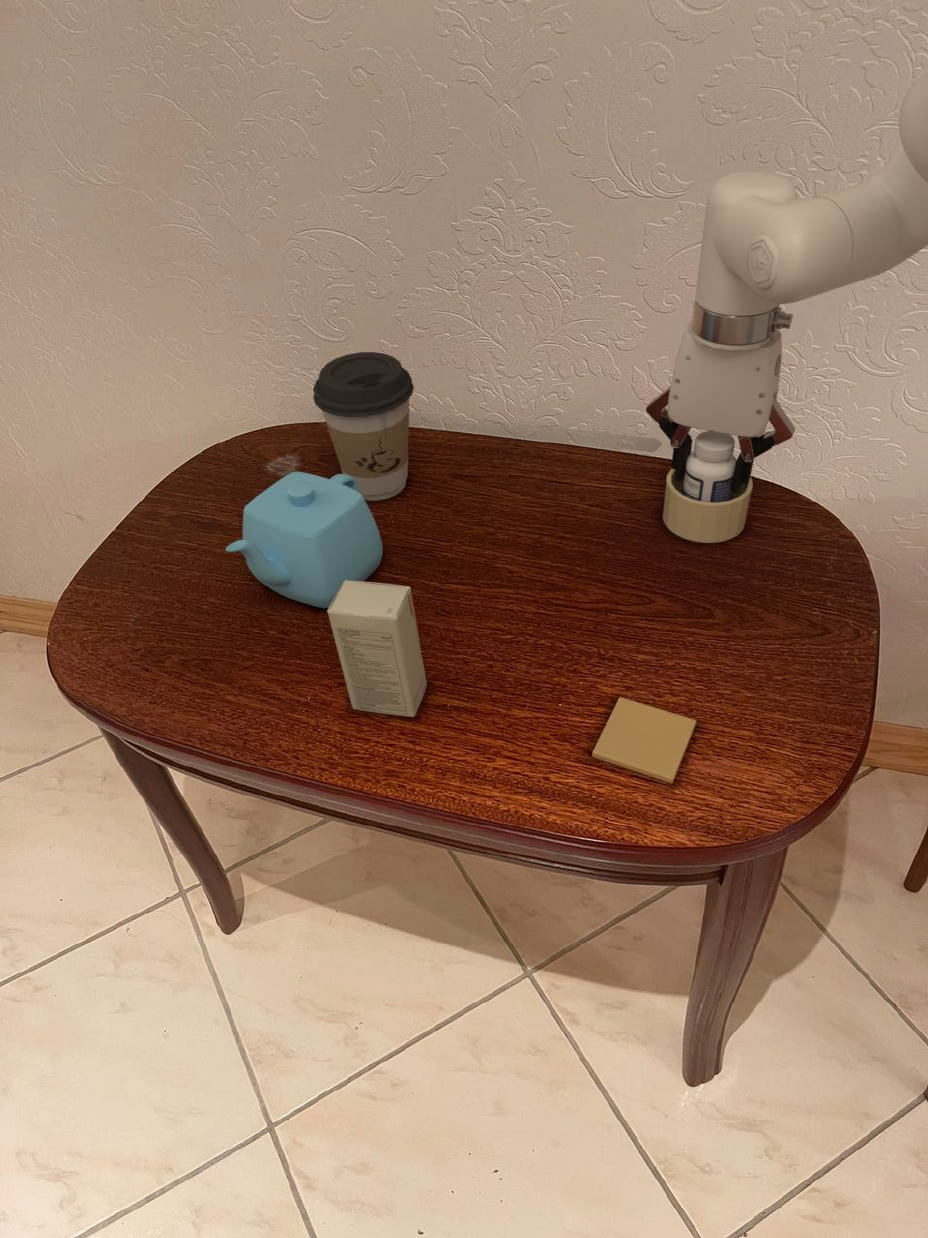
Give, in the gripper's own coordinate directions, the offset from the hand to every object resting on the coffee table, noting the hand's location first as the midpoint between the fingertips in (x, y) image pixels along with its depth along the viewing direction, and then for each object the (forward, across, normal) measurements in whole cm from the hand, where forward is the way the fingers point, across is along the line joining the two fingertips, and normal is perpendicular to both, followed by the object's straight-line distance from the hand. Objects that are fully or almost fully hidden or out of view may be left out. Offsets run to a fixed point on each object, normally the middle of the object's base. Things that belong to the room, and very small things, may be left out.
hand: (709, 479), depth 96 cm
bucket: (+5, 0, 0) cm, 5 cm away
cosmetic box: (+5, +19, +38) cm, 43 cm away
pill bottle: (+5, 0, 0) cm, 5 cm away
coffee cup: (+5, +38, +8) cm, 39 cm away
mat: (+5, -4, +33) cm, 34 cm away
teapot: (+5, +35, +27) cm, 44 cm away
